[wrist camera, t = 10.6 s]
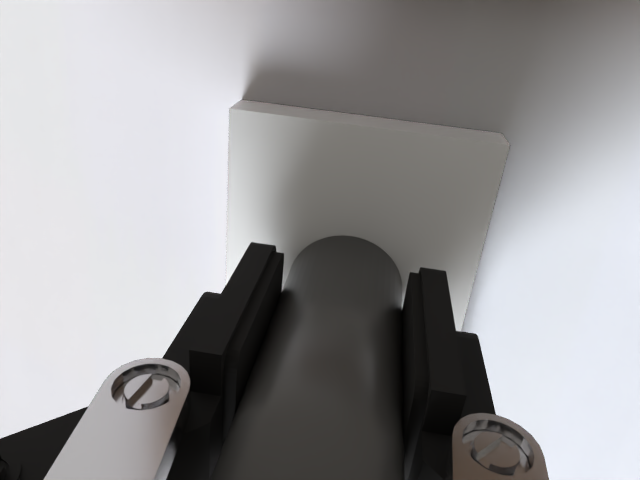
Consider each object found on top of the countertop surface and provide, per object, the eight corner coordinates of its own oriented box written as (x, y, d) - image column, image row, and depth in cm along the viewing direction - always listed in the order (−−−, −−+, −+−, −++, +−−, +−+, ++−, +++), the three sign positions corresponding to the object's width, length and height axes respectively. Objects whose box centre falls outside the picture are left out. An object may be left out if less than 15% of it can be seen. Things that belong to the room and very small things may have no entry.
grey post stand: (433, 402, 15) (471, 856, 7) (232, 368, 16) (63, 760, 8) (501, 133, 12) (717, 440, 4) (241, 99, 12) (-54, 311, 4)
